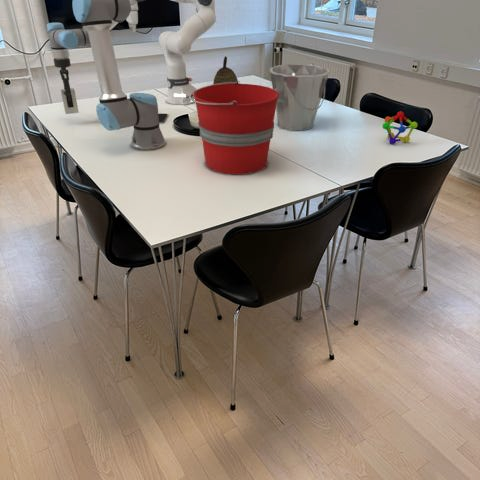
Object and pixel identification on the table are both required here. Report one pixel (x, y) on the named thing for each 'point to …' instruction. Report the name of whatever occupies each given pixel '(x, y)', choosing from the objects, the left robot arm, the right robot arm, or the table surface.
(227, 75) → the bell
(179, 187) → the table surface
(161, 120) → the smartphone
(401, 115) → the educational toy
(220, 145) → the bucket
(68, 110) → the brick
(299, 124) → the bucket
